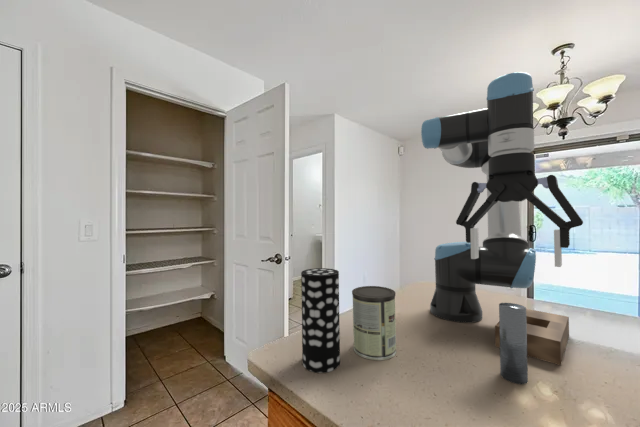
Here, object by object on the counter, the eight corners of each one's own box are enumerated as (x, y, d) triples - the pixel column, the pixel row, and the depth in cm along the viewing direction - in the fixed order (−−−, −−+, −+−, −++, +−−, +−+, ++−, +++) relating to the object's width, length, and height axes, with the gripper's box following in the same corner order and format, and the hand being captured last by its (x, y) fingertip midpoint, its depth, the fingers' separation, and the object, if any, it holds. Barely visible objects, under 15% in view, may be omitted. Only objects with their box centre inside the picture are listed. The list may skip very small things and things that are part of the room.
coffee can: (357, 337, 72) (356, 284, 72) (397, 343, 68) (396, 287, 69) (348, 356, 62) (347, 295, 62) (395, 364, 59) (393, 299, 59)
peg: (497, 377, 53) (496, 306, 54) (503, 368, 57) (502, 301, 57) (525, 387, 50) (523, 311, 50) (529, 377, 53) (528, 306, 54)
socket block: (495, 346, 66) (494, 325, 66) (514, 323, 80) (513, 306, 80) (560, 365, 57) (560, 341, 57) (569, 335, 71) (568, 316, 71)
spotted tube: (312, 377, 54) (311, 277, 55) (296, 358, 62) (295, 270, 62) (347, 366, 58) (345, 273, 58) (328, 349, 66) (327, 267, 66)
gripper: (439, 162, 60) (441, 257, 60) (600, 137, 42) (604, 273, 42) (452, 166, 66) (453, 254, 65) (600, 146, 48) (603, 266, 47)
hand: (512, 261), depth 54 cm, fingers open, 13 cm apart
